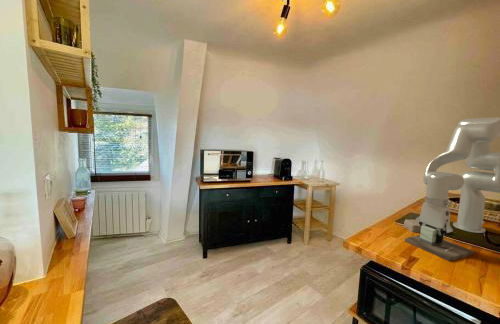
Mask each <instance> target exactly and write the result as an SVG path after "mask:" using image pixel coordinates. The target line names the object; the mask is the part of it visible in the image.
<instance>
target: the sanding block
mask: <svg viewBox="0 0 500 324" xmlns="http://www.w3.org/2000/svg"><path fill="white" fill-rule="evenodd" d="M444 230H446V228H444ZM437 234H438V232H437V228H436V227H433V226H430V225H426V226H421V232H419V235H420V241H421V242H424V243H426V244H428V245H431V246H432V245H437V244H441V243H443V241H442V242H441V243H436V242H435V241H436V235H437ZM443 240H445V234H444V235H443Z"/></svg>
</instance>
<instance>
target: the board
mask: <svg viewBox="0 0 500 324" xmlns="http://www.w3.org/2000/svg"><path fill="white" fill-rule="evenodd" d="M404 242H406V243H408V244H410V245H412V246H414V247H417V248H419V249H422V250H423V251H426V252H428V253H430V254H431V255H435V256H436V257H438V258H441V259H444V260H446V261H448V262H452V261H455V260H459V259H462V258H465V257H470V256H471V255H474V250H472V249H469V248H466V247H464V246H462V245H459V244H456V243H455V242H451V241H449V240H446V239H444V240H443V243H441V244H437V245H432V246H431V245H428V244H426V243H424V242H421V241H420V234H417V235H414V236H410V237H405V239H404Z"/></svg>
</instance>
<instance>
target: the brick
mask: <svg viewBox="0 0 500 324" xmlns="http://www.w3.org/2000/svg"><path fill="white" fill-rule="evenodd" d="M403 227H404V228H405V229H407V230H408V231H410V232H412V233H420V232H421V226H420V224H419V222H418V221H417V220H416V219H405V220H404V222H403Z"/></svg>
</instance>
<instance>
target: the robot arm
mask: <svg viewBox="0 0 500 324" xmlns="http://www.w3.org/2000/svg"><path fill="white" fill-rule="evenodd" d="M498 138H500V117H499V116H498V117H475V118H465V119H461V120H460V121H458V123H457V126H456V127H455V128H454V130H453V132H452V134H451V137H450V139H449V142H448V145H447V147H446V150H445V151H444V152H441V153H440V154H439V155H437V156H436V157H434V158H433V159H432V160H430V162H429V163H428V165H427V166H426V169H425V171H424V174H423V177H422V179H423V183H424V184H425V185H426V191H425V200H424V201H423V203H422V206H421V210H420V215H418V216H417V217H416V218H415V220H417V221H418V222H419V224H420V226H426V225H430V226H433V227H436V228H437V232H438V234H437V235H436V241H435V242H436V243H441V242H442V241H443V235H444V236H445V235H447V234H449V233H453V232H454V230H453V228H452V226H453V227H454V228H456V229H459V230H462V231H464V232H469V233H473V234H474V233H475V234H484V233H486V228H484V227H483V224H485V221H484V219H483V218H484V211H485V205H486V196H485V195H484V194H483V192H482V191H484V192H485V191H486V192H490V193H495V194H496V193H498V194H500V151H491V150H490V149H491V143H492V142H495V141H496V140H497V139H498ZM462 160H465V165H466V167H467V168H470V169H474V170H466V171H463V172H462V173H461V175H460V174H457V173H453V172H452V173H451V172H450V173H449V172H444V171H438V169H440V168H441V167H442V166H444V165H447V164H450V163H455V162H459V161H462ZM478 170H483V171H478ZM486 171H487V172H486ZM488 171H491V172H488ZM458 190H460V197H459V205H458V212H457V213H458V214H457V221H454V222H453V223H452V226H451V225H450V224H451V211H450V205H451V202H449V200H448V197H449V191H458ZM444 228H445V230H444Z"/></svg>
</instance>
